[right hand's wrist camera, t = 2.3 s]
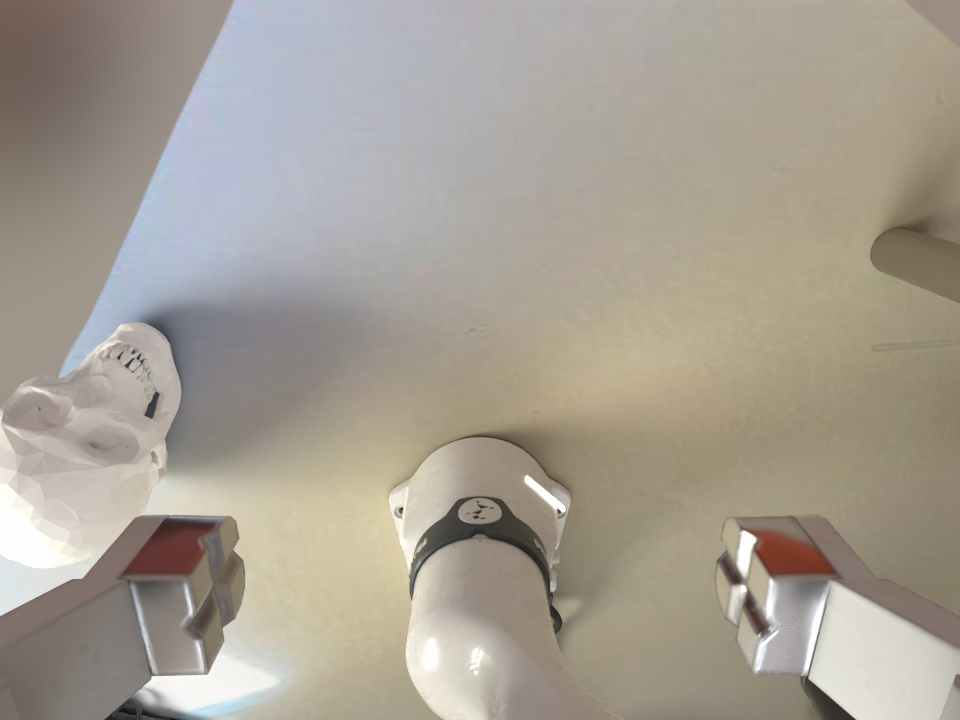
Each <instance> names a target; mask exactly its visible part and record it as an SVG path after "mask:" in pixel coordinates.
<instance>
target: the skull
mask: <svg viewBox="0 0 960 720" xmlns="http://www.w3.org/2000/svg"><path fill="white" fill-rule="evenodd" d="M128 348H129V349H128ZM127 349H128V350H127ZM126 350H127V351H126ZM133 350H134V351H135V353H134V354H131V353H132V351H133ZM122 352H124V353H123V354H122V355H121V358H120V360H119V359H117V358H118V356H119V355H120V354H121V353H122ZM139 354H140V355H141V356H140V358H139V361H138V360H137V359H136V358H137V357H138V355H139ZM132 358H133V359H134V360H133V361H132V363H131V364H130V365H129V368H128V369H127V368H126V367H125V366H124V365H125V364H127V363H128V362H129V361H130V360H131V359H132ZM142 359H143V361H144V362H143V363H142V365H141V366H139V365H140V364H141V362H140V361H141V360H142ZM138 366H139V367H138ZM137 367H138V368H137ZM136 368H137V369H136ZM135 369H136V370H135ZM145 369H147V370H145ZM134 370H135V371H134ZM131 371H133V373H132V372H131ZM141 380H142V381H141ZM155 391H156V392H158V393H159V397H158V401H157V404H156V409H155V414H154V417H153V418H152V419H151V418H148V417H146V416H145V413H146V410H147V407H148V404H149V403H151V401H152V399H153V395H154V394H155ZM181 394H182V390H181V384H180V379H179V376H178V373H177V370H176V367H175V364H174V360H173V355H172V350H171V345H170V344H169V342H168V341H167V339H166V337H165V336H164V335H163V334H162V333H161V332H160V331H158V330H157V329H155V328H153V327H151V326H149V325H148V324H145V323H140V322H131V323H124V324H122V325H120V326H119V327H118V328H117V329H116V330H115V332H114V333H113V334H112V335H111V336H110V337H109V338H108V339H107V340H106V341H105V342H103V343H102V344H100V345H99V346H98V347H97V348H96V349H95V350H94V351H93V352H92V353H91V354H89V355H88V356H87V357H86V358H85V359H84V360H83V361H82V362H81V363H80V365H79V366H78V367H77V368H76V369H75V370H73V371H72V372H70V373H69V374H68V375H66V376H65V377H63V378H62V379H60V378H57V377H55V376H52V375H50V374H47V373H44V374H41V375H38V376H36V377H34V378H32V379H30V380H28V381H25V382H24V383H22V384H21V385H20V386H19V387H18V388H17V389H16V391H15V392H14V393H13V394H12V395H11V396H10V397H9V399H8V400H7V401H6V402H5V403H4V405H3V406H2V407H1V408H0V554H2V555H3V556H5V557H6V558H8V559H12V560H16V561H18V562H20V563H23V564H25V565H27V566H31V567H39V568H52V567H59V566H65V565H70V564H75V563H78V562H81V561H83V560H86V559H89V558H91V557H93V556H94V555H96V554H98V553H99V552H101V551H103V550H104V549H106V548H107V547H109V546H110V545H112V544H113V542H114V541H115V540H116V539H117V538H118V537H119V535H120V534H121V533H122V532H123V531H124V530H125V528H126V527H127V526H128V525H129V524H130V523H131V521H132V520H133V519H134V518H135V517H138V516H140V515H141V514H142V512H143V511H144V509H145V507H146V505H147V502H148V500H149V497H150V494H151V492H152V491H153V489H154V488H155V487H156V486H157V485H158V484H159V483H160V482H161V481H162V480H163V479H164V478H165V477H166V465H167V453H168V451H167V450H166V442H165V437H166V435H167V433H168V430H169V428H170V426H171V424H172V422H173V419H174V417H175V415H176V413H177V411H178V408H179V405H180V400H181Z"/></svg>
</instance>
